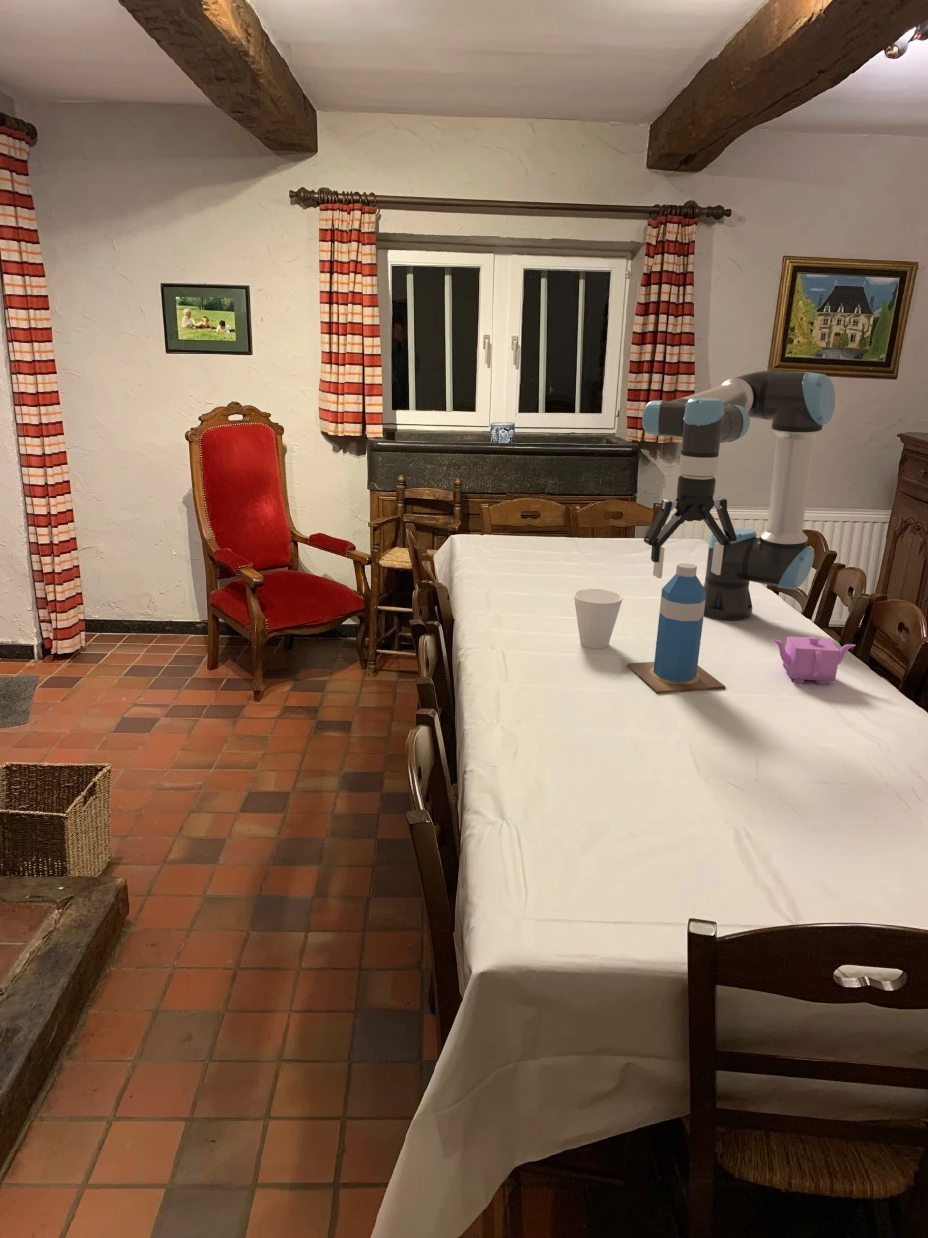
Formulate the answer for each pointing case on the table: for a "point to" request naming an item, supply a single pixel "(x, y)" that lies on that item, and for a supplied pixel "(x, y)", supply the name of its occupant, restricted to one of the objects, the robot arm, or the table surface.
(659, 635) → the water bottle
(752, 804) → the table surface
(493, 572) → the table surface
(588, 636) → the cup
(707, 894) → the table surface
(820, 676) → the teapot
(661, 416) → the robot arm
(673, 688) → the plate
